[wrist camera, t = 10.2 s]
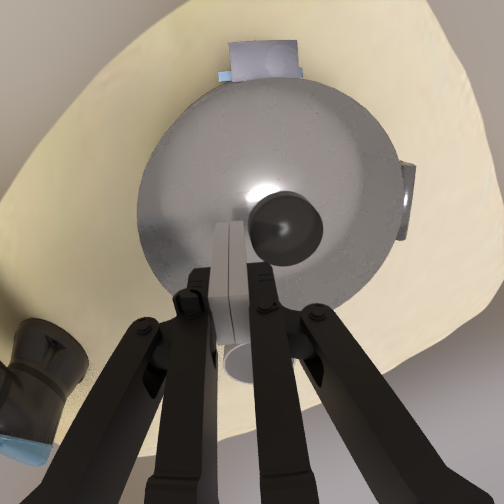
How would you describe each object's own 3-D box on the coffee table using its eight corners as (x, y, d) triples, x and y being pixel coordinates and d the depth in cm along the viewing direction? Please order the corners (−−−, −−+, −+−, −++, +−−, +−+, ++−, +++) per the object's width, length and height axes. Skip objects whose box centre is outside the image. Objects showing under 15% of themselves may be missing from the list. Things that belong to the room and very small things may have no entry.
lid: (172, 323, 25) (170, 356, 22) (121, 98, 16) (103, 101, 13) (389, 288, 27) (408, 313, 24) (412, 85, 18) (444, 90, 14)
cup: (232, 276, 39) (233, 334, 30) (292, 289, 40) (307, 345, 32) (218, 322, 43) (216, 379, 34) (272, 331, 44) (281, 387, 36)
